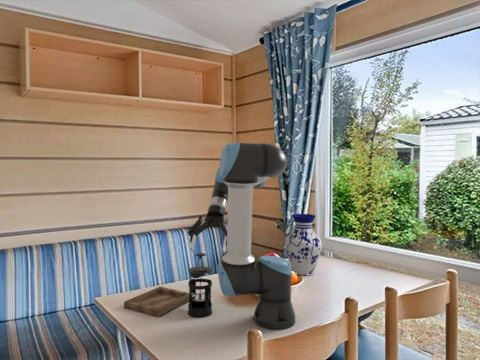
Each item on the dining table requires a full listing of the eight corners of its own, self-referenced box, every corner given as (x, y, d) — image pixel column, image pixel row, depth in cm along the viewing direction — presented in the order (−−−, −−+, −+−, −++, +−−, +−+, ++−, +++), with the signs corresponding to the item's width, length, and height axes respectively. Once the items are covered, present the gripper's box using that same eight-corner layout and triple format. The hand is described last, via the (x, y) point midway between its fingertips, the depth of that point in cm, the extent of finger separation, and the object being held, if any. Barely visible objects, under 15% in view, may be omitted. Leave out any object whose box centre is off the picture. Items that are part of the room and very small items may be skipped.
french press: (218, 314, 148) (218, 254, 146) (197, 320, 142) (198, 258, 140) (200, 305, 157) (201, 248, 155) (180, 310, 151) (180, 252, 149)
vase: (321, 279, 191) (322, 219, 189) (282, 276, 195) (283, 217, 193) (321, 268, 210) (322, 213, 208) (285, 266, 213) (286, 212, 212)
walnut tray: (193, 299, 162) (193, 293, 162) (159, 317, 144) (159, 310, 144) (159, 292, 171) (159, 286, 171) (124, 307, 153) (124, 301, 153)
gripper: (245, 215, 172) (238, 257, 159) (192, 213, 177) (180, 253, 164) (243, 205, 167) (235, 247, 153) (188, 203, 172) (176, 243, 158)
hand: (207, 250), depth 158 cm, fingers open, 13 cm apart
